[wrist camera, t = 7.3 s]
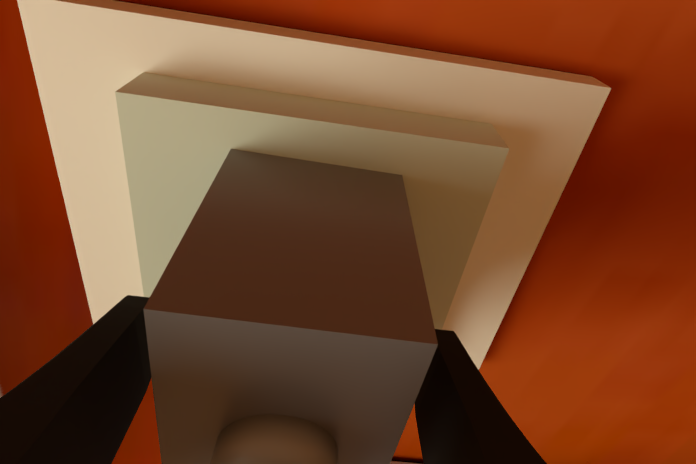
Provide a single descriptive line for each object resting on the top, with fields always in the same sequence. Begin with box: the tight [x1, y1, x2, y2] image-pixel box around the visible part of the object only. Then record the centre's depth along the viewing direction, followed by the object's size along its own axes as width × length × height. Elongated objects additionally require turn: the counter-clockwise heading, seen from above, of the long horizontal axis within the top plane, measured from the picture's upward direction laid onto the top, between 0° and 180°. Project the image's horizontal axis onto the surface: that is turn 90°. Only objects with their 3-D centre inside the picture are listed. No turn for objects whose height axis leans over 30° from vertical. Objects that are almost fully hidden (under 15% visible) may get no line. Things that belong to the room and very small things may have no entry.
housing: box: [143, 149, 438, 464], centre depth 11 cm, size 5×7×7 cm, turn 171°
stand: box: [17, 0, 611, 370], centre depth 15 cm, size 13×16×3 cm
